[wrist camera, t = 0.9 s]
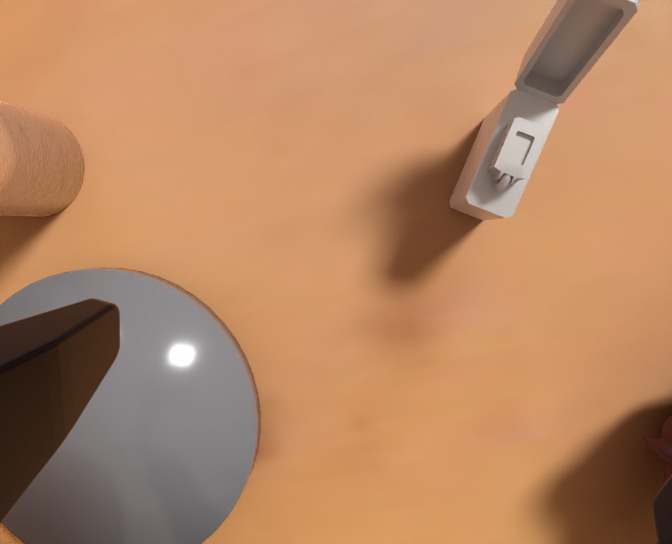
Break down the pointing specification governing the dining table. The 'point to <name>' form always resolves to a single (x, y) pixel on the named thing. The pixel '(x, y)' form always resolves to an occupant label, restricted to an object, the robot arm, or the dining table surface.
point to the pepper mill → (36, 163)
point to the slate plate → (145, 421)
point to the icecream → (663, 447)
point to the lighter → (535, 104)
